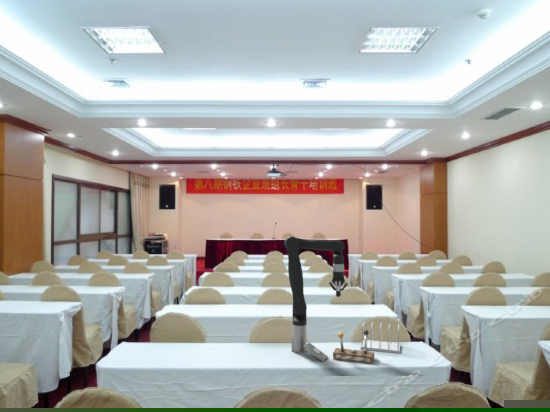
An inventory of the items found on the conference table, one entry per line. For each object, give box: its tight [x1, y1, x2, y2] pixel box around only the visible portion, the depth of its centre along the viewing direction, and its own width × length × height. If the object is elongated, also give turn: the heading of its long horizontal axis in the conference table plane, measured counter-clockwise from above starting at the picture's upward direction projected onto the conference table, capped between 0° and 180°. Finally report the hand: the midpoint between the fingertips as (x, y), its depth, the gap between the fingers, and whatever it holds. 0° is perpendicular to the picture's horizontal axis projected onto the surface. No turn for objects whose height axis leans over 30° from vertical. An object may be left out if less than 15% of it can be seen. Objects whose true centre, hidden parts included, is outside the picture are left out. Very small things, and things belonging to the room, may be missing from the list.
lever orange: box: [337, 332, 345, 351], centre depth 253 cm, size 3×3×14 cm
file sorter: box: [360, 321, 401, 354], centre depth 276 cm, size 25×17×16 cm
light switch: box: [304, 342, 329, 362], centre depth 254 cm, size 8×6×14 cm
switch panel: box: [332, 347, 375, 365], centre depth 253 cm, size 24×10×5 cm, turn 71°
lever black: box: [363, 329, 370, 353], centre depth 254 cm, size 3×3×14 cm
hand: (338, 296), depth 272 cm, fingers closed
